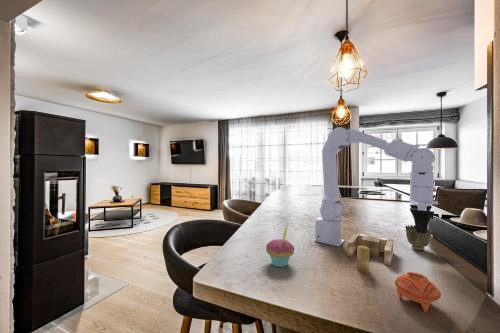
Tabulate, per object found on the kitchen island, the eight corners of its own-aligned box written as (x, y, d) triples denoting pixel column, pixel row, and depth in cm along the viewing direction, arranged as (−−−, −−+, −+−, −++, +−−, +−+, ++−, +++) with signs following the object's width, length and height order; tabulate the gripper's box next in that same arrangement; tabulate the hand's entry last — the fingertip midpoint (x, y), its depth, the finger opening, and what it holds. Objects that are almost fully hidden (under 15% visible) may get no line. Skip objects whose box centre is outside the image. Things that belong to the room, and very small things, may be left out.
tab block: (352, 269, 62) (352, 247, 62) (363, 249, 77) (364, 231, 77) (372, 275, 59) (372, 251, 59) (380, 252, 74) (380, 234, 74)
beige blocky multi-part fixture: (346, 255, 72) (347, 241, 72) (354, 244, 81) (354, 232, 81) (390, 266, 64) (390, 251, 64) (393, 253, 74) (393, 239, 74)
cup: (436, 255, 73) (436, 231, 73) (411, 253, 74) (412, 229, 74) (423, 246, 80) (423, 225, 80) (401, 245, 81) (401, 224, 81)
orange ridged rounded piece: (395, 306, 45) (394, 272, 47) (395, 297, 52) (394, 267, 53) (446, 320, 41) (443, 282, 42) (438, 308, 47) (436, 275, 49)
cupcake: (295, 259, 68) (296, 222, 68) (291, 272, 60) (292, 229, 60) (269, 255, 71) (269, 219, 71) (262, 267, 63) (262, 226, 63)
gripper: (441, 189, 59) (440, 238, 59) (436, 185, 71) (435, 226, 71) (409, 187, 63) (408, 233, 64) (409, 184, 75) (408, 223, 75)
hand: (420, 229), depth 68 cm, fingers open, 7 cm apart
